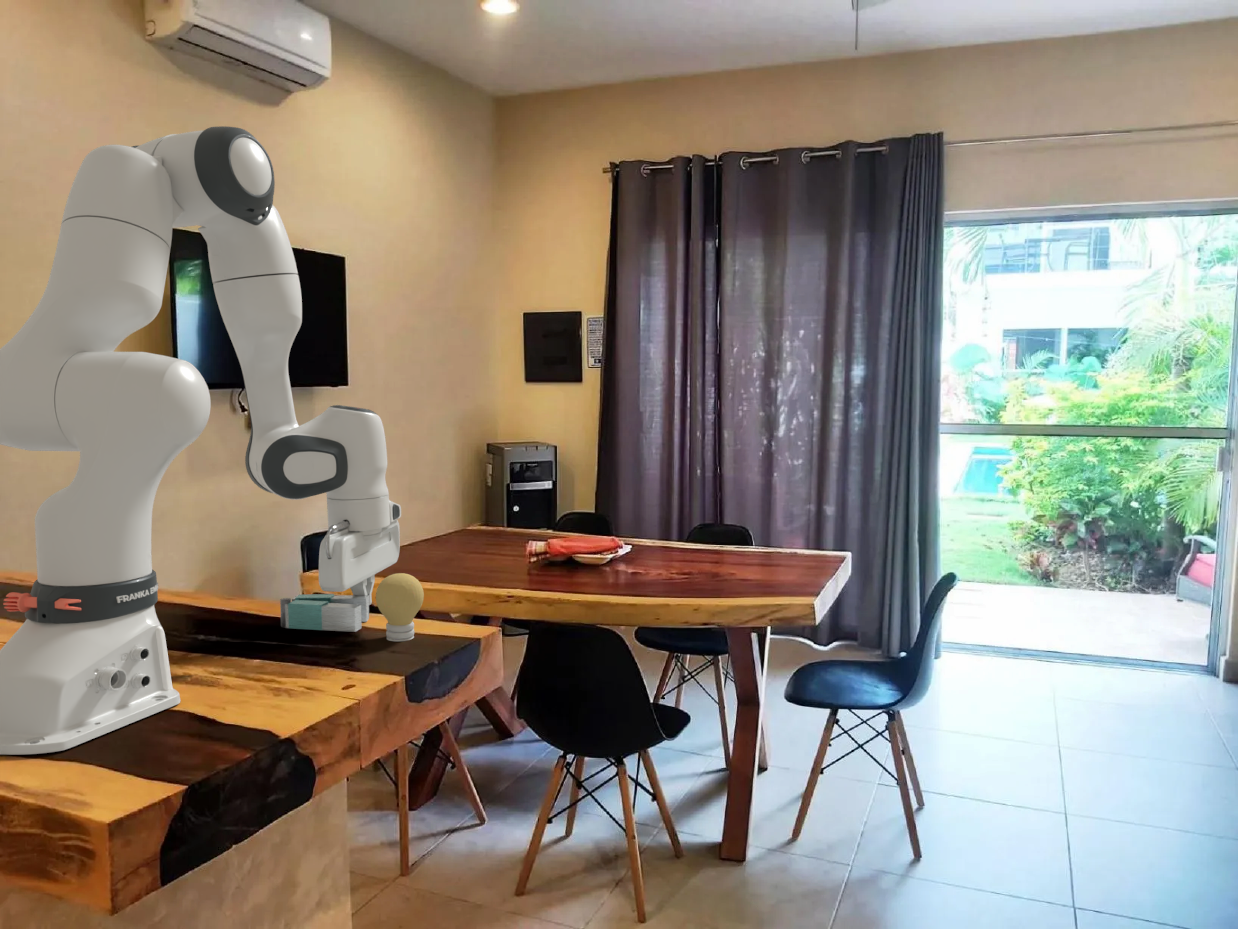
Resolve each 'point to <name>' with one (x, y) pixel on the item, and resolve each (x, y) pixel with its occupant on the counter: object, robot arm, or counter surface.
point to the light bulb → (399, 604)
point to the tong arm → (341, 601)
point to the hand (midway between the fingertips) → (363, 606)
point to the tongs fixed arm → (320, 615)
